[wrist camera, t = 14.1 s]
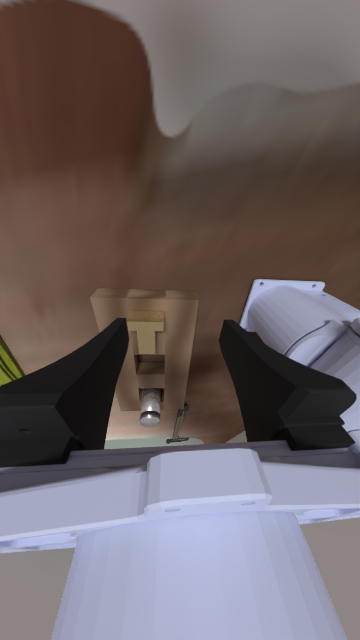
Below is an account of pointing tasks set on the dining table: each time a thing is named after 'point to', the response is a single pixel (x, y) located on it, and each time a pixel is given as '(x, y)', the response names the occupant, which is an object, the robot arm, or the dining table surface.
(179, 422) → the tactical tomahawk
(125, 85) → the dining table surface
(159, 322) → the key
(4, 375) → the dish towel
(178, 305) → the board
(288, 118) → the dining table surface
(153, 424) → the peg
